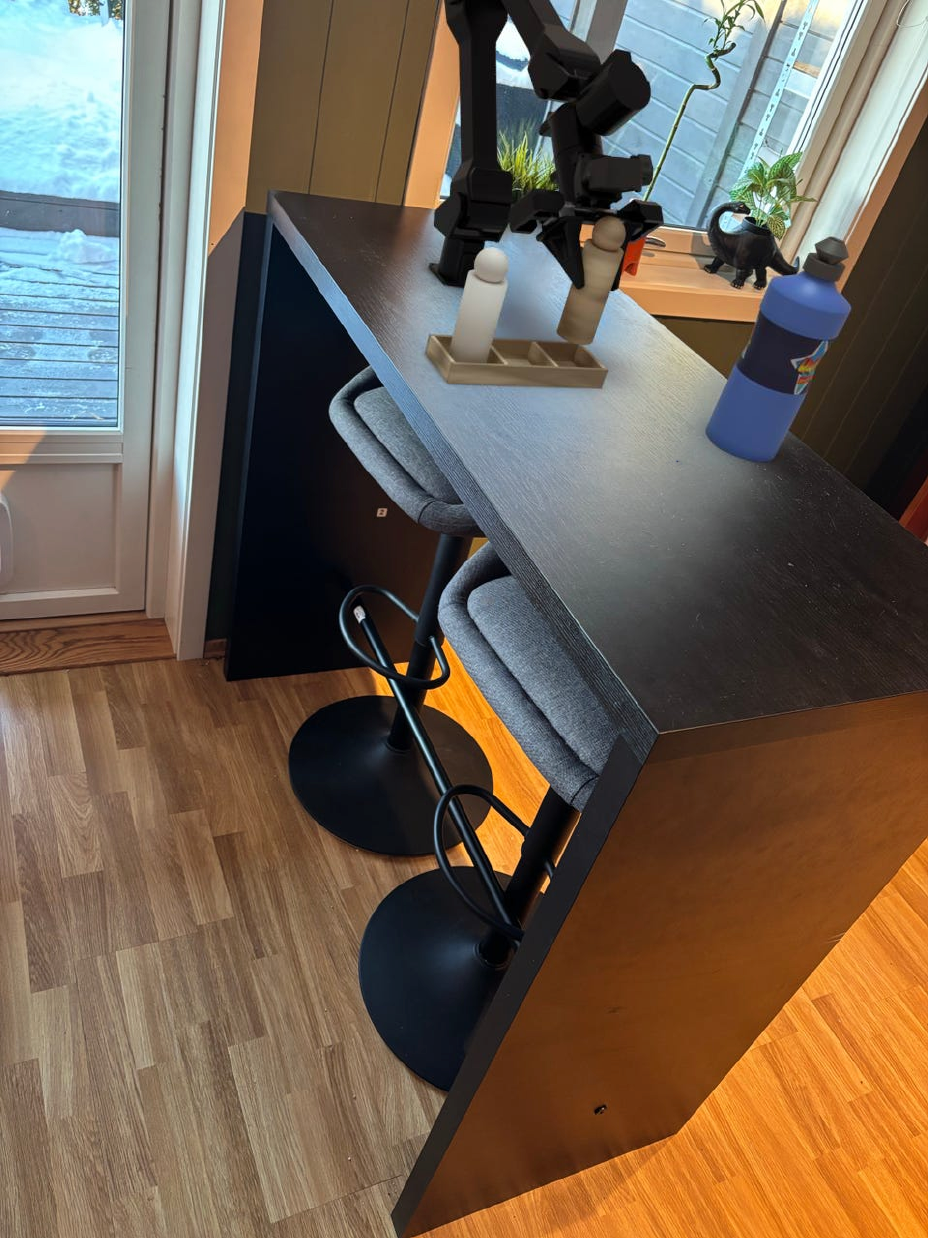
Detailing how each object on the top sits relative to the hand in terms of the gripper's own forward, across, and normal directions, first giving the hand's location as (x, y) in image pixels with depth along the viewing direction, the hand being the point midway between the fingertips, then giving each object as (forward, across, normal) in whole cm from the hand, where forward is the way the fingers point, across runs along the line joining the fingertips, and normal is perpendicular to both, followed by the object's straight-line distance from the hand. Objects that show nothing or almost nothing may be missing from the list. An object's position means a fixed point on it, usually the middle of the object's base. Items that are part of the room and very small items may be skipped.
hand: (598, 289), depth 111 cm
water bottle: (+19, +17, -2) cm, 26 cm away
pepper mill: (+4, 0, +6) cm, 7 cm away
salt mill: (+6, -14, +10) cm, 18 cm away
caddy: (+7, -7, +10) cm, 14 cm away
